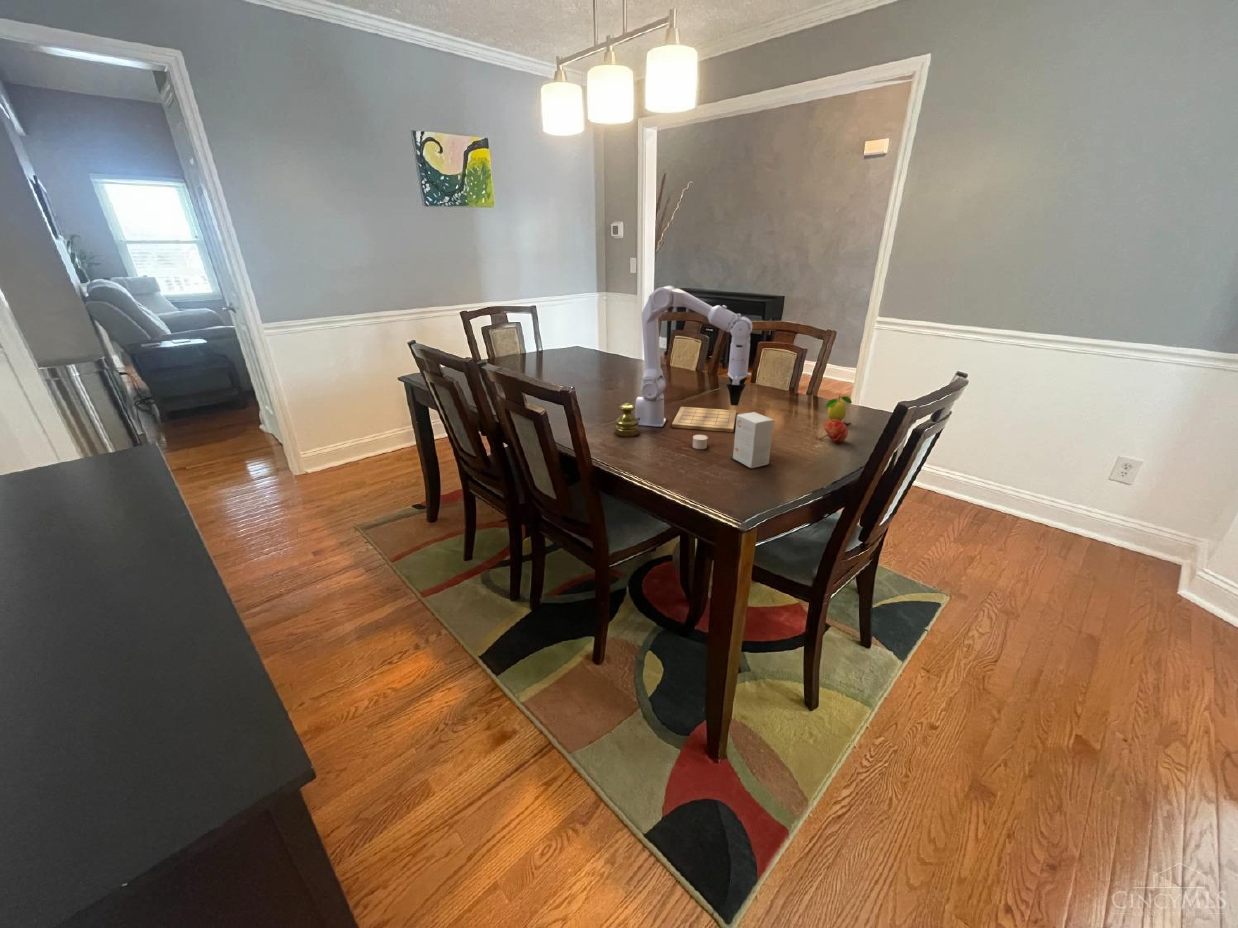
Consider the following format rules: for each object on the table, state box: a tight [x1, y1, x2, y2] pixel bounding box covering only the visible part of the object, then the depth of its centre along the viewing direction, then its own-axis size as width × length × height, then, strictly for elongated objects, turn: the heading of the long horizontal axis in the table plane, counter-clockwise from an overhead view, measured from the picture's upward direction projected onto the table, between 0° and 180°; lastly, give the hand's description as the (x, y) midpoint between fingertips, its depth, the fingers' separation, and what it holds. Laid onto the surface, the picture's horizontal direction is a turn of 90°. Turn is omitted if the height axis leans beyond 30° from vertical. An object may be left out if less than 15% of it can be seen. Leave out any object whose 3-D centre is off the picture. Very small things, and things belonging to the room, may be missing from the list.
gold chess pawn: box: [615, 402, 640, 438], centre depth 156 cm, size 7×7×10 cm
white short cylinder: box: [691, 434, 709, 450], centre depth 147 cm, size 4×4×3 cm
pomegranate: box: [819, 419, 852, 444], centre depth 149 cm, size 7×7×10 cm
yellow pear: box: [824, 394, 853, 421], centre depth 164 cm, size 7×6×10 cm
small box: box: [732, 411, 775, 469], centre depth 134 cm, size 8×6×13 cm
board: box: [671, 406, 737, 433], centre depth 169 cm, size 20×20×1 cm
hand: (735, 401), depth 155 cm, fingers open, 7 cm apart
